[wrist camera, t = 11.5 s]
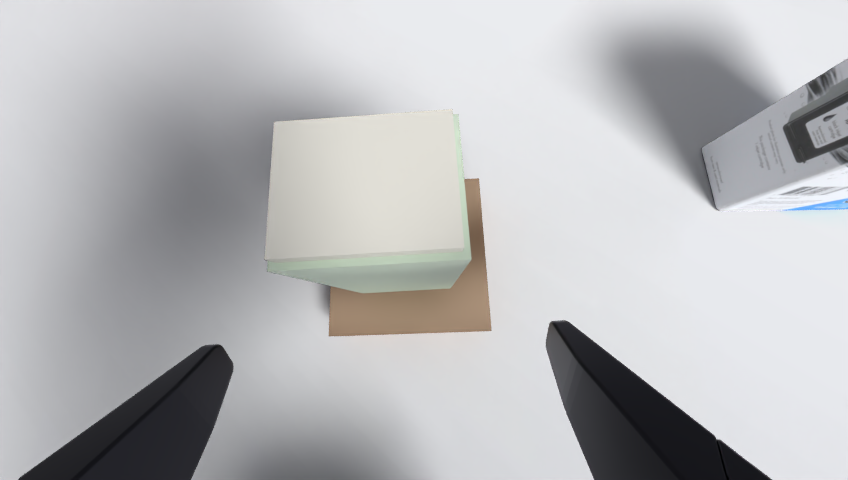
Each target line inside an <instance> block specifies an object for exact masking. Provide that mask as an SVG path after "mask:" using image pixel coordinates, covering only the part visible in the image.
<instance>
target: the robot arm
mask: <svg viewBox="0 0 848 480" xmlns="http://www.w3.org/2000/svg"><path fill="white" fill-rule="evenodd" d="M546 349H547V353H548V356H549V359H550V363H551V366H552V369H553V373H554V376H555V379H556V383H557V386H558V389H559V392H560V396H561V399H562V402H563V405H564V408H565V411H566V413H567V416H568V418H569V421H570V423H571V425H572V428H573V430H574V432H575V435H576V437H577V440H578V442H579V444H580V447H581V449H582V452H583V454H584V456H585V459H586V461H587V463H588V466H589V468H590V471H591V473H592V475H593V478H594V480H772V479H771V478H769V477H768V476H767V475H765V474H764V473H763V472H761V471H760V470H759V469H757V468H756V467H755V466H753V465H752V464H751V463H749V462H748V461H747V460H746V459H744V458H743V457H742V456H740V455H739V454H738V453H736V452H735V451H734V450H733V449H731V448H730V447H729V446H727V445H726V444H725V443H724V442H722V441H721V440H718V439H716V437H715V436H714V435H713V434H712V433H711V432H709V431H708V430H707V429H705V428H704V427H703V426H702V425H700V424H699V423H698V422H696V421H695V420H694V419H693V418H691V417H690V416H689V415H688V414H686V413H685V412H684V411H682V410H681V409H680V408H679V407H677V406H676V405H675V404H673V403H672V402H671V401H670V400H668V399H667V398H666V397H664V396H663V395H662V394H661V393H659V392H658V391H657V390H655V389H654V388H653V387H652V386H650V385H649V384H648V383H646V382H645V381H644V380H643V379H641V378H640V377H639V376H637V375H636V374H635V373H634V372H632V371H631V370H630V369H628V368H627V367H626V366H625V365H623V364H622V363H621V362H620V361H618V360H617V359H616V358H614V357H613V356H612V355H611V354H609V353H608V352H607V351H605V350H604V349H603V348H602V347H600V346H599V345H598V344H596V343H595V342H594V341H593V340H591V339H590V338H589V337H587V336H586V335H585V334H584V333H582V332H581V331H580V330H578V329H577V328H576V327H575V326H573V325H572V324H571V323H569V322H568V321H565V320H561V321H552V322H550V324H549V328H548V333H547V339H546ZM232 373H233V362H232V361H231V359H230V357H229V356H228V354H227V353H226V351H225V349H224V348H223V347H222V346H221V345H219V344H215V345H205V346H202V347H201V348H199V349H198V350H196V351H195V352H194V353H192V354H191V355H189V356H188V357H187V358H185V359H184V360H182V361H181V362H180V363H178V364H177V365H176V366H174V367H173V368H171V369H170V370H169V371H167V372H166V373H164V374H163V375H162V376H160V377H159V378H157V379H156V380H155V381H153V382H152V383H151V384H149V385H148V386H146V387H145V388H144V389H142V390H141V391H139V392H138V393H137V394H135V395H134V396H132V397H131V398H130V399H128V400H127V401H126V402H124V403H123V404H121V405H120V406H119V407H117V408H116V409H114V410H113V411H112V412H110V413H109V414H107V415H106V416H105V417H103V418H102V419H101V420H99V421H98V422H96V423H95V424H94V425H92V426H91V427H89V428H88V429H87V430H85V431H84V432H82V433H81V434H80V435H78V436H77V437H76V438H74V439H73V440H71V441H70V442H69V443H67V444H66V445H64V446H63V447H62V448H60V449H59V450H57V451H56V452H55V453H53V454H52V455H51V456H49V457H48V458H46V459H45V460H44V461H42V462H41V463H39V464H38V465H37V466H35V467H34V468H32V469H31V470H30V471H28V472H27V473H26V474H24V475H23V476H21V477H20V478H19V479H18V480H191V478H192V476H193V474H194V471H195V469H196V467H197V465H198V462H199V460H200V458H201V456H202V453H203V451H204V449H205V447H206V444H207V442H208V440H209V438H210V435H211V433H212V430H213V428H214V425H215V422H216V420H217V417H218V414H219V411H220V408H221V405H222V402H223V399H224V396H225V393H226V390H227V387H228V385H229V382H230V379H231V376H232Z"/></svg>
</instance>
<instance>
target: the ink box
mask: <svg viewBox="0 0 848 480" xmlns="http://www.w3.org/2000/svg"><path fill="white" fill-rule="evenodd" d="M702 153H703V157H704V161H705V165H706V169H707V173H708V177H709V181H710V185H711V189H712V193H713V197H714V201H715V205H716V208H717V209H718V210H719V211H722V212H725V211H777V210H827V209H848V59H846V60H844V61H843V62H841V63H839V64H838V65H836V66H834V67H833V68H831V69H830V70H828V71H827V72H825V73H824V74H822V75H820V76H818V77H817V78H815V79H814V80H812V81H810V82H808V83H807V84H805V85H803V86H802V87H800V88H799V89H797V90H795V91H794V92H792V93H791V94H789V95H787V96H785V97H784V98H782V99H781V100H779V101H778V102H776V103H774V104H773V105H771V106H769V107H768V108H766V109H764V110H763V111H761V112H759V113H758V114H756V115H755V116H753V117H751V118H750V119H748V120H747V121H745V122H743V123H742V124H740V125H738V126H736V127H735V128H733V129H732V130H730V131H728V132H727V133H725V134H723V135H722V136H720V137H719V138H717V139H715V140H714V141H712V142H710V143H709V144H707V145H706V146H704V147H703V148H702Z"/></svg>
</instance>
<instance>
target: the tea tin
mask: <svg viewBox="0 0 848 480" xmlns="http://www.w3.org/2000/svg"><path fill="white" fill-rule="evenodd" d="M264 260H267V261H268V265H267V272H272V273H276V274H280V275H285V276H289V277H293V278H298V279H302V280H306V281H311V282H315V283H320V284H324V285H328V286H333V287H337V288H341V289H346V290H350V291H354V292H359V293H380V292H397V291H415V290H432V289H450V288H451V287H452V286H453V284H454V283H455V282H456V280H457V279H458V277H459V276H460V275H461V273H462V272H463V271H464V269H465V268H466V266H467V265H468V264H469V262H470V261H471V248H470V237H469V226H468V215H467V204H466V194H465V183H464V172H463V161H462V150H461V139H460V128H459V117H458V114H455V115H453V109H448V110H433V111H419V112H405V113H391V114H377V115H362V116H348V117H334V118H320V119H306V120H292V121H277V122H274V129H273V143H272V157H271V171H270V186H269V200H268V214H267V229H266V243H265V257H264Z"/></svg>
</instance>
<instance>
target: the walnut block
mask: <svg viewBox="0 0 848 480" xmlns="http://www.w3.org/2000/svg"><path fill="white" fill-rule="evenodd" d="M464 183H465V194H466V204H467V215H468V226H469V237H470V248H471V261H470V262H469V264H468V265H467V266H466V268H465V269H464V271H463V272H462V273H461V275H460V276H459V277H458V279H457V280H456V282H455V283H454V284H453V286H452V287H451V288H450V289H432V290H415V291H397V292H380V293H359V292H354V291H350V290H346V289H341V288H337V287H333V286H331V288H330V316H329V336H354V335H384V334H414V333H443V332H473V331H491V320H490V308H489V296H488V284H487V272H486V259H485V247H484V235H483V223H482V211H481V199H480V187H479V178H478V179H464Z"/></svg>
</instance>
